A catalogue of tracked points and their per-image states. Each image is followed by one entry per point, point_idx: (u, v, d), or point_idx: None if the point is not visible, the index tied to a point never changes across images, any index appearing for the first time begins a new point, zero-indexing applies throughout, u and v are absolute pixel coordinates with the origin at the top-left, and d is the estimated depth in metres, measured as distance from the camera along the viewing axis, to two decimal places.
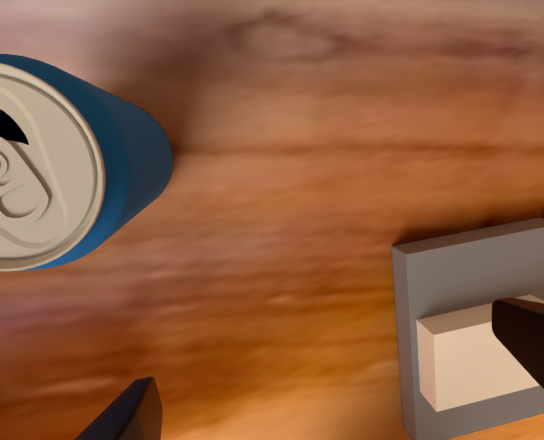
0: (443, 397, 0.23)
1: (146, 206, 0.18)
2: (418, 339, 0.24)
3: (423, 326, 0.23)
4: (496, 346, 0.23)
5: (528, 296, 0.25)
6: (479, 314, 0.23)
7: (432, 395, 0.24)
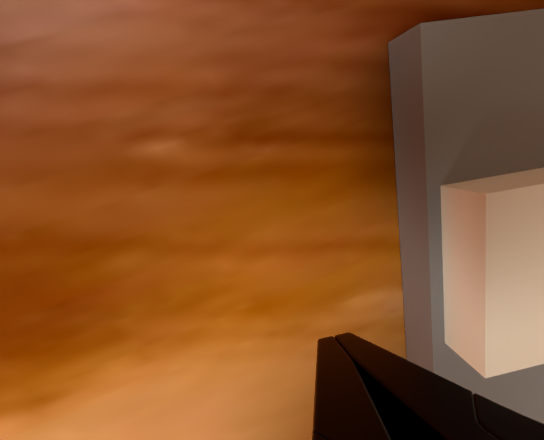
0: (500, 346, 0.11)
1: None
2: (444, 229, 0.12)
3: (456, 191, 0.11)
4: None
5: None
6: None
7: (475, 343, 0.11)
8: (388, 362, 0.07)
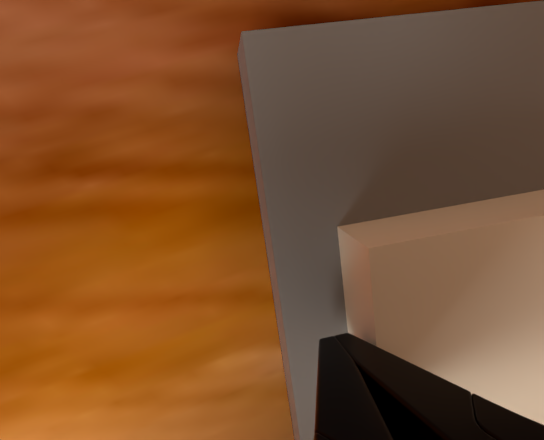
0: None
1: None
2: (344, 279, 0.09)
3: (348, 237, 0.08)
4: None
5: None
6: (504, 207, 0.09)
7: None
8: (387, 362, 0.07)
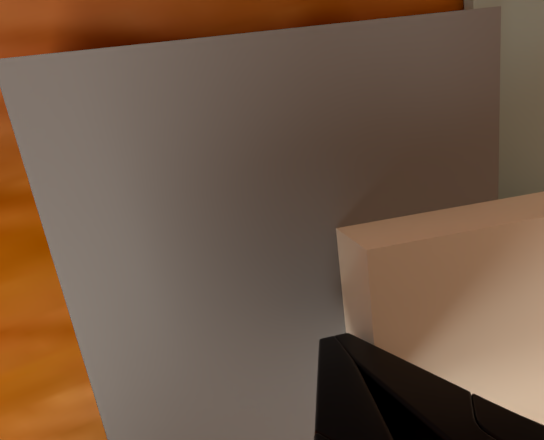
0: None
1: None
2: (342, 280, 0.09)
3: (346, 239, 0.08)
4: None
5: None
6: (501, 209, 0.09)
7: None
8: (387, 363, 0.07)
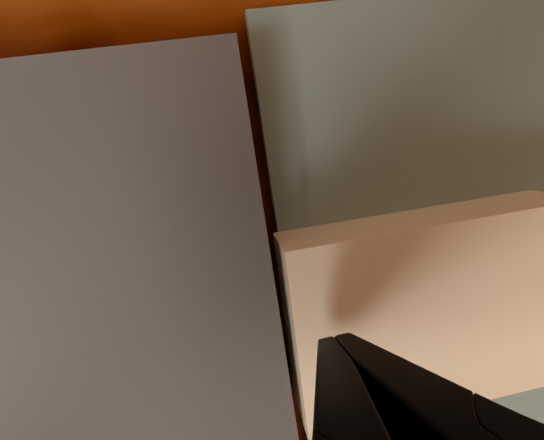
0: None
1: None
2: (279, 278, 0.11)
3: (277, 242, 0.10)
4: (448, 290, 0.10)
5: (526, 192, 0.11)
6: (412, 218, 0.10)
7: (302, 405, 0.10)
8: (388, 362, 0.07)
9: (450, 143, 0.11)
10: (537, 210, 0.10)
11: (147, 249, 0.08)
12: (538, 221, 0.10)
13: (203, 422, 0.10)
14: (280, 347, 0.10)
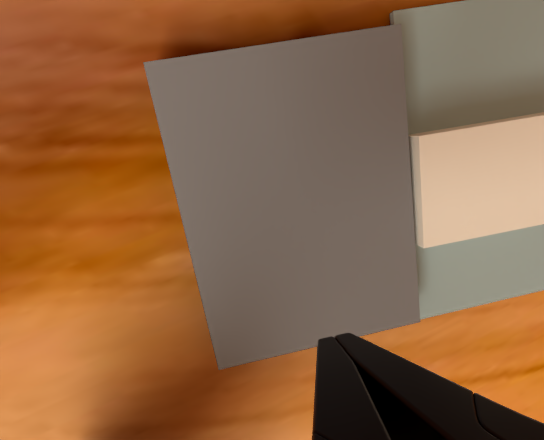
0: (432, 228, 0.18)
1: None
2: None
3: None
4: (500, 160, 0.18)
5: (542, 112, 0.20)
6: (479, 124, 0.18)
7: (418, 228, 0.19)
8: (388, 362, 0.07)
9: (498, 84, 0.19)
10: None
11: (350, 135, 0.17)
12: None
13: (368, 235, 0.18)
14: (410, 193, 0.18)
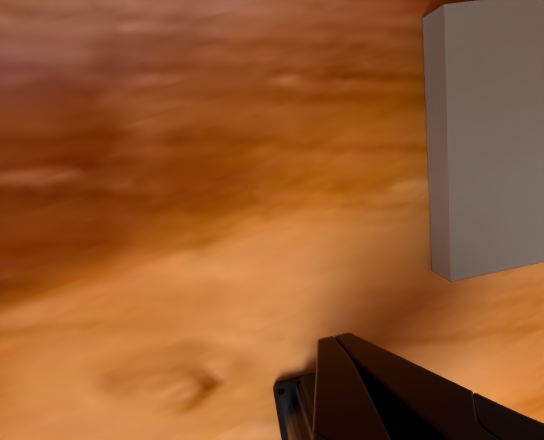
0: None
1: None
2: None
3: None
4: None
5: None
6: None
7: None
8: (388, 362, 0.07)
9: None
10: None
11: None
12: None
13: None
14: None
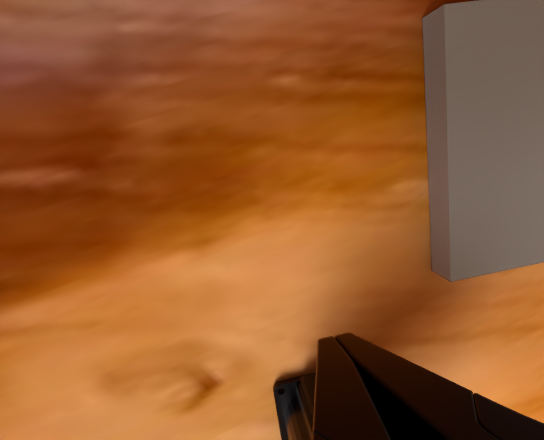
0: None
1: None
2: None
3: None
4: None
5: None
6: None
7: None
8: (388, 362, 0.07)
9: None
10: None
11: None
12: None
13: None
14: None
